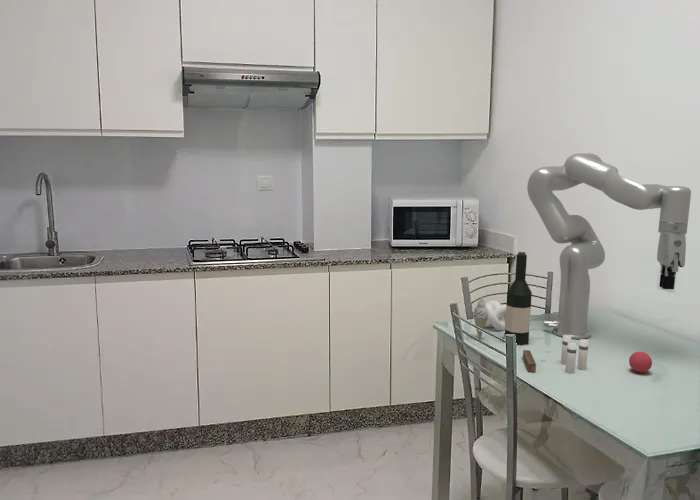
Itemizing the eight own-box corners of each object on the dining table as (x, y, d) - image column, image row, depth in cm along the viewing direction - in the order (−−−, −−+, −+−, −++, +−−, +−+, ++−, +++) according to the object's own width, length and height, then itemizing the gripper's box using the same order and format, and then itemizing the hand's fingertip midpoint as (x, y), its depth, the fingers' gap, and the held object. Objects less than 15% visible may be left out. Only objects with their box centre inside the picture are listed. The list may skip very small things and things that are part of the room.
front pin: (578, 369, 175) (580, 341, 174) (576, 366, 177) (578, 338, 176) (587, 370, 175) (589, 342, 173) (585, 367, 177) (587, 339, 176)
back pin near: (566, 373, 172) (568, 344, 171) (564, 369, 175) (566, 341, 173) (575, 373, 172) (577, 345, 170) (573, 370, 174) (575, 342, 173)
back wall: (528, 372, 172) (528, 363, 172) (522, 357, 184) (523, 350, 184) (535, 372, 172) (536, 364, 172) (529, 358, 184) (530, 350, 183)
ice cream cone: (488, 337, 203) (490, 294, 200) (486, 342, 198) (488, 298, 196) (473, 336, 205) (475, 293, 202) (470, 340, 200) (473, 296, 197)
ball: (631, 375, 171) (633, 354, 170) (625, 367, 177) (627, 347, 176) (654, 376, 170) (656, 356, 169) (647, 368, 176) (649, 349, 175)
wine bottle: (500, 337, 204) (505, 250, 198) (523, 337, 204) (529, 250, 199) (508, 345, 195) (513, 254, 190) (533, 345, 196) (539, 254, 191)
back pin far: (561, 364, 179) (563, 337, 178) (560, 361, 181) (562, 334, 180) (570, 364, 179) (572, 337, 177) (568, 362, 181) (570, 334, 180)
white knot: (505, 322, 222) (506, 298, 220) (518, 332, 210) (520, 307, 208) (476, 323, 220) (477, 299, 219) (487, 333, 209) (489, 308, 207)
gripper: (697, 232, 171) (690, 295, 174) (676, 225, 186) (670, 283, 189) (669, 231, 172) (662, 293, 175) (650, 224, 187) (644, 282, 190)
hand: (666, 287), depth 182 cm, fingers closed
